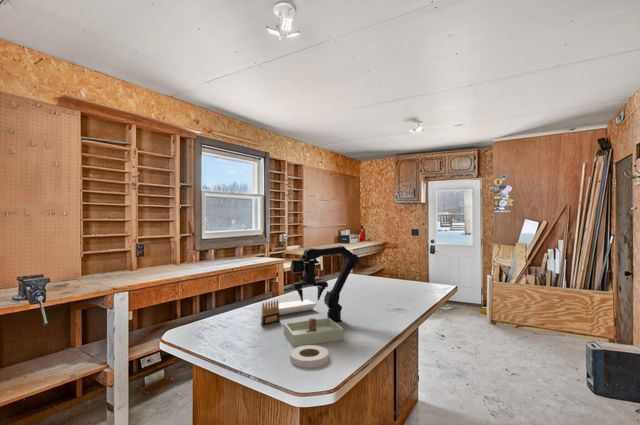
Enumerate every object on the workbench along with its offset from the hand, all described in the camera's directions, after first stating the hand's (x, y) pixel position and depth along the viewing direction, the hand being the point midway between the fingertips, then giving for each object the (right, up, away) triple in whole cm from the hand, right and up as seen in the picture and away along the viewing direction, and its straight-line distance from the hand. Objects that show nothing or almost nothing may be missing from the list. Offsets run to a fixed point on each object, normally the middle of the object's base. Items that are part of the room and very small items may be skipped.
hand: (310, 301), depth 172 cm
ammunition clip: (-21, -13, 0) cm, 25 cm away
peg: (+2, -11, -20) cm, 23 cm away
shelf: (-13, -13, +20) cm, 28 cm away
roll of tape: (+1, -11, -45) cm, 46 cm away
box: (+2, -11, -20) cm, 23 cm away
